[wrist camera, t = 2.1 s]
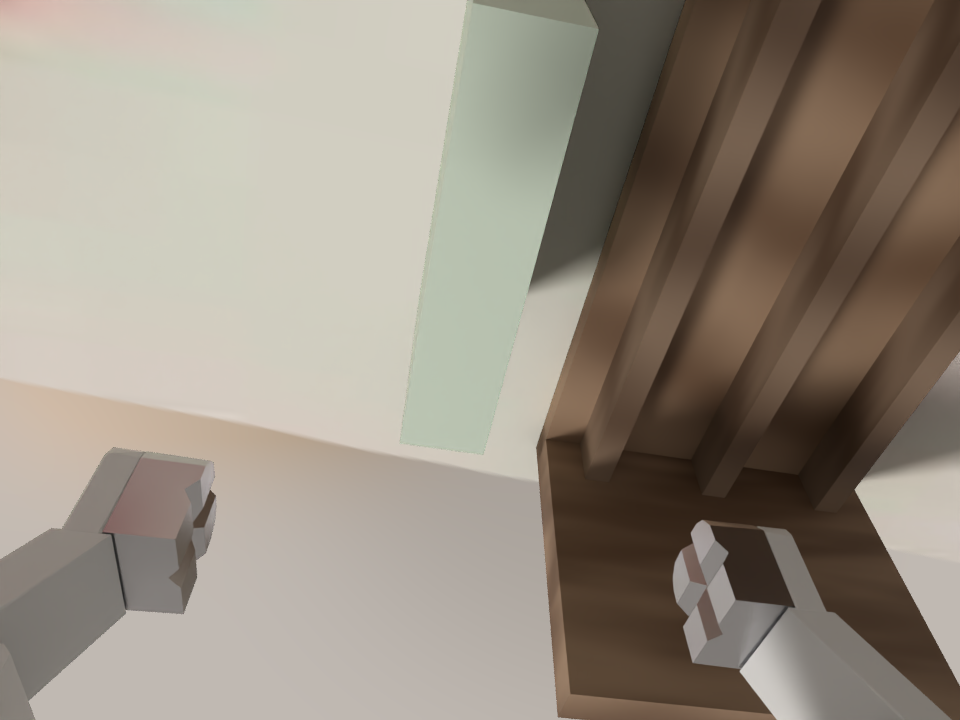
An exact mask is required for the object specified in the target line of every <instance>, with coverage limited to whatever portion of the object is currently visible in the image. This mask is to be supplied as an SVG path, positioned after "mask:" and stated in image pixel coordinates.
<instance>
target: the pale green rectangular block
mask: <svg viewBox="0 0 960 720" xmlns="http://www.w3.org/2000/svg"><path fill="white" fill-rule="evenodd" d="M598 31H599V28H598V26H597V24H596V22H595V20H594V18H593V16H592V14H591V12H590V10H589V8H588V6H587V4H586V2H585V0H467V3H466V10H465V16H464V22H463V28H462V34H461V41H460V47H459V53H458V59H457V65H456V72H455V78H454V84H453V90H452V96H451V103H450V109H449V115H448V121H447V127H446V134H445V140H444V146H443V152H442V159H441V165H440V171H439V177H438V183H437V190H436V196H435V202H434V208H433V214H432V221H431V227H430V233H429V239H428V245H427V252H426V258H425V264H424V270H423V276H422V283H421V289H420V295H419V302H418V310H417V317H416V325H415V332H414V340H413V347H412V355H411V362H410V370H409V377H408V385H407V392H406V400H405V407H404V415H403V422H402V430H401V437H400V444H407V445H414V446H422V447H429V448H436V449H444V450H451V451H458V452H465V453H473V454H480V455H483V454H484V451H485V447H486V443H487V440H488V436H489V432H490V429H491V425H492V421H493V418H494V414H495V410H496V407H497V403H498V399H499V396H500V392H501V388H502V384H503V381H504V377H505V373H506V370H507V366H508V362H509V359H510V355H511V351H512V348H513V344H514V340H515V337H516V333H517V329H518V326H519V322H520V318H521V315H522V311H523V307H524V303H525V300H526V296H527V292H528V289H529V285H530V281H531V278H532V274H533V270H534V267H535V263H536V259H537V256H538V252H539V248H540V245H541V241H542V237H543V234H544V230H545V226H546V222H547V219H548V215H549V211H550V208H551V204H552V200H553V197H554V193H555V189H556V186H557V182H558V178H559V175H560V171H561V167H562V164H563V160H564V156H565V152H566V149H567V145H568V141H569V138H570V134H571V130H572V127H573V123H574V119H575V116H576V112H577V108H578V105H579V101H580V97H581V94H582V90H583V86H584V83H585V79H586V75H587V71H588V68H589V64H590V60H591V57H592V53H593V49H594V46H595V42H596V38H597V35H598Z"/></svg>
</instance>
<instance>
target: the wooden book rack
mask: <svg viewBox="0 0 960 720" xmlns="http://www.w3.org/2000/svg"><path fill="white" fill-rule="evenodd" d="M959 351H960V0H685V3H684V6H683V9H682V12H681V15H680V18H679V21H678V24H677V27H676V30H675V33H674V36H673V39H672V42H671V45H670V48H669V51H668V54H667V57H666V60H665V63H664V66H663V69H662V72H661V75H660V78H659V81H658V84H657V87H656V90H655V93H654V96H653V99H652V102H651V105H650V108H649V111H648V114H647V117H646V120H645V123H644V126H643V129H642V132H641V135H640V138H639V141H638V144H637V147H636V150H635V153H634V156H633V159H632V162H631V165H630V168H629V171H628V174H627V177H626V180H625V183H624V186H623V189H622V192H621V195H620V198H619V201H618V204H617V207H616V210H615V213H614V216H613V219H612V222H611V225H610V228H609V231H608V234H607V237H606V240H605V243H604V246H603V249H602V252H601V255H600V258H599V261H598V264H597V267H596V270H595V273H594V276H593V279H592V282H591V285H590V288H589V291H588V294H587V297H586V300H585V303H584V306H583V309H582V312H581V315H580V318H579V321H578V324H577V327H576V330H575V333H574V336H573V339H572V342H571V345H570V348H569V351H568V354H567V357H566V360H565V363H564V366H563V369H562V372H561V375H560V378H559V381H558V384H557V387H556V390H555V393H554V396H553V399H552V402H551V405H550V408H549V411H548V414H547V417H546V420H545V423H544V426H543V429H542V432H541V435H540V438H539V441H538V444H537V447H536V449H537V461H538V474H539V486H540V498H541V510H542V524H543V535H544V549H545V562H546V574H547V587H548V598H549V612H550V624H551V637H552V649H553V661H554V674H555V687H556V700H557V712H558V717H561V718H571V719H582V720H777V719H776V718H775V717H774V716H773V714H772V713H771V712H770V710H769V709H768V708H767V706H766V705H765V704H764V703H763V701H762V700H761V699H760V697H759V696H758V695H757V693H756V692H755V691H754V690H753V688H752V687H751V686H750V684H749V683H748V682H747V680H746V679H745V678H744V677H743V675H742V674H741V673H740V670H741V669H736V668H728V667H720V666H712V665H704V664H696V663H693V662H692V659H691V655H690V651H689V647H688V644H687V640H686V636H685V633H684V629H683V626H684V624H685V622H686V620H687V618H688V615H687V614H686V613H685V612H684V611H683V610H682V608H681V607H680V606H679V605H678V604H677V602H676V598H675V594H674V588H673V572H674V566H675V561H676V559H677V557H678V555H679V553H680V551H681V550H682V549H684V548H686V547H687V546H689V545H691V544H693V540H692V537H691V532H692V530H693V529H694V527H695V525H696V524H697V523H698V522H700V521H701V520H709V521H718V522H727V523H736V524H745V525H754V526H756V527H757V526H760V527H769V528H778V529H786V530H787V531H788V532H789V533H790V534H791V535H792V537H793V539H794V541H795V543H796V545H797V548H798V550H799V552H800V554H801V556H802V559H803V561H804V563H805V565H806V567H807V570H808V572H809V574H810V576H811V578H812V581H813V583H814V585H815V587H816V589H817V592H818V594H819V596H820V598H821V600H822V603H823V605H824V607H825V609H826V611H827V612H833V613H836V614H837V615H838V616H839V617H840V618H841V619H842V620H843V621H844V622H845V623H847V624H848V625H849V626H850V627H851V628H852V629H853V630H854V631H855V632H856V633H857V634H859V635H860V636H861V637H862V638H863V639H864V640H865V641H866V642H867V643H868V644H870V645H871V646H872V647H873V648H874V649H875V650H876V651H877V652H878V653H879V654H880V655H882V656H883V657H884V658H885V659H886V660H887V661H888V662H889V663H890V664H891V665H892V666H894V667H895V668H896V669H897V670H898V671H899V672H900V673H901V674H902V675H903V676H905V677H906V678H907V679H908V680H909V681H910V682H911V683H912V684H913V685H914V686H915V687H917V688H918V689H919V690H920V691H921V692H922V693H923V694H924V695H925V696H926V697H928V698H929V699H930V700H931V701H932V702H933V703H934V704H935V705H936V706H937V707H938V708H940V709H941V710H942V711H943V712H944V713H945V714H946V715H947V716H948V717H949V718H950V719H952V720H960V686H959V684H958V682H957V680H956V678H955V676H954V675H953V673H952V671H951V669H950V667H949V665H948V663H947V662H946V660H945V658H944V656H943V654H942V652H941V650H940V648H939V646H938V645H937V643H936V641H935V639H934V637H933V635H932V633H931V632H930V630H929V628H928V626H927V624H926V622H925V620H924V619H923V617H922V615H921V613H920V611H919V609H918V607H917V606H916V604H915V602H914V600H913V598H912V596H911V594H910V593H909V591H908V589H907V587H906V585H905V583H904V581H903V579H902V578H901V576H900V574H899V572H898V570H897V569H896V567H895V565H894V563H893V561H892V559H891V557H890V555H889V554H888V552H887V550H886V548H885V546H884V544H883V542H882V540H881V539H880V537H879V535H878V533H877V531H876V529H875V527H874V525H873V524H872V522H871V520H870V518H869V516H868V514H867V512H866V511H865V509H864V507H863V505H862V503H861V501H860V499H859V498H858V496H857V494H856V492H855V490H854V489H855V488H856V487H857V485H858V484H859V483H860V482H861V480H862V479H863V478H864V476H865V475H866V474H867V472H868V471H869V470H870V468H871V467H872V466H873V464H874V463H875V462H876V460H877V459H878V458H879V457H880V455H881V454H882V453H883V451H884V450H885V449H886V447H887V446H888V445H889V443H890V442H891V441H892V439H893V438H894V437H895V436H896V434H897V433H898V432H899V430H900V429H901V428H902V426H903V425H904V424H905V422H906V421H907V420H908V418H909V417H910V416H911V415H912V413H913V412H914V411H915V409H916V408H917V407H918V405H919V404H920V403H921V401H922V400H923V399H924V397H925V396H926V395H927V393H928V392H929V391H930V390H931V388H932V387H933V386H934V384H935V383H936V382H937V380H938V379H939V378H940V376H941V375H942V374H943V372H944V371H945V370H946V369H947V367H948V366H949V365H950V363H951V362H952V361H953V359H954V358H955V357H956V355H957V354H958V353H959Z"/></svg>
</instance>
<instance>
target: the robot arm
mask: <svg viewBox="0 0 960 720" xmlns="http://www.w3.org/2000/svg"><path fill="white" fill-rule="evenodd" d="M214 478H215V472H214V463H213V462H212V461H208V460H202V459H194V458H188V457H181V456H174V455H167V454H160V453H153V452H144V451H137V450H130V449H122V448H116V447H113V448H112V449H111V450H110V451H108V452H107V453H106V454H105V455H104V457H103V459H102V460H101V462H100V464H99V465H98V467H97V469H96V471H95V472H94V474H93V476H92V478H91V479H90V481H89V483H88V485H87V486H86V488H85V490H84V491H83V493H82V495H81V497H80V498H79V500H78V502H77V503H76V505H75V507H74V509H73V510H72V512H71V514H70V515H69V517H68V519H67V521H66V522H65V524H64V526H63V528H62V529H55V528H51V529H49V530H47V531H46V532H44V533H43V534H41V535H39V536H38V537H36V538H34V539H33V540H31V541H29V542H28V543H26V544H25V545H23V546H21V547H20V548H18V549H16V550H15V551H13V552H12V553H10V554H8V555H7V556H5V557H3V558H2V559H0V720H35V718H34V715H33V712H32V710H31V707H30V704H29V702H28V701H29V700H30V699H31V698H32V697H33V696H34V695H35V694H37V692H39V691H40V690H41V689H42V688H43V687H44V686H46V684H48V683H49V682H50V681H51V680H52V679H53V678H54V677H56V676H57V675H58V674H59V673H60V672H61V671H62V670H63V669H64V668H66V667H67V666H68V665H69V664H70V663H71V662H72V661H73V660H75V659H76V658H77V657H78V656H79V655H80V654H81V653H82V652H83V651H85V650H86V649H87V648H88V647H89V646H90V645H91V644H92V643H94V641H96V639H98V638H99V637H100V636H101V635H102V634H104V633H105V632H106V631H107V630H108V629H109V628H110V627H111V626H112V625H113V624H115V623H116V622H117V621H118V620H119V619H120V618H121V617H123V616H124V615H125V614H126V610H133V611H148V612H162V613H176V614H184V611H185V609H186V606H187V603H188V600H189V598H190V595H191V592H192V590H193V587H194V584H195V582H196V579H197V568H196V560H197V559H199V558H200V557H201V556H203V555H204V554H205V553H206V551H207V548H208V545H209V542H210V539H211V536H212V532H213V527H214V522H215V516H216V495H214V493H212V491H211V490H210V488H211V486H212V483H213V481H214ZM691 537H692V540H693V544H691V545H689V546H687V547H686V548H684V549H682V550H681V551H680V553H679V555H678V557H677V559H676V561H675V566H674V572H673V588H674V594H675V598H676V602H677V604H678V605H679V606H680V607H681V608H682V610H683V611H684V612H685V613H686V614H687V615H688V618H687V620H686V622H685V624H684V626H683V629H684V633H685V636H686V640H687V644H688V647H689V651H690V655H691V659H692V662H693V663H696V664H704V665H712V666H720V667H728V668H736V669H741V670H740V673H741V674H742V675H743V677H744V678H745V679H746V680H747V682H748V683H749V684H750V686H751V687H752V688H753V690H754V691H755V692H756V693H757V695H758V696H759V697H760V699H761V700H762V701H763V703H764V704H765V705H766V706H767V708H768V709H769V710H770V712H771V713H772V714H773V716H774V717H775V718H776V719H777V720H952V719H950V718H949V717H948V716H947V715H946V714H945V713H944V712H943V711H942V710H941V709H940V708H938V707H937V706H936V705H935V704H934V703H933V702H932V701H931V700H930V699H929V698H928V697H926V696H925V695H924V694H923V693H922V692H921V691H920V690H919V689H918V688H917V687H915V686H914V685H913V684H912V683H911V682H910V681H909V680H908V679H907V678H906V677H905V676H903V675H902V674H901V673H900V672H899V671H898V670H897V669H896V668H895V667H894V666H892V665H891V664H890V663H889V662H888V661H887V660H886V659H885V658H884V657H883V656H882V655H880V654H879V653H878V652H877V651H876V650H875V649H874V648H873V647H872V646H871V645H870V644H868V643H867V642H866V641H865V640H864V639H863V638H862V637H861V636H860V635H859V634H857V633H856V632H855V631H854V630H853V629H852V628H851V627H850V626H849V625H848V624H847V623H845V622H844V621H843V620H842V619H841V618H840V617H839V616H838V615H837V614H836V613H833V612H827V611H826V609H825V607H824V605H823V603H822V600H821V598H820V596H819V594H818V592H817V589H816V587H815V585H814V583H813V581H812V578H811V576H810V574H809V572H808V570H807V567H806V565H805V563H804V561H803V559H802V556H801V554H800V552H799V550H798V548H797V545H796V543H795V541H794V539H793V537H792V535H791V534H790V533H789V532H788V531H787V530H786V529H778V528H769V527H760V526H757V527H756V526H754V525H745V524H736V523H727V522H718V521H709V520H701V521H700V522H698V523H697V524H696V525H695V527H694V529H693V530H692V532H691Z"/></svg>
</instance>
